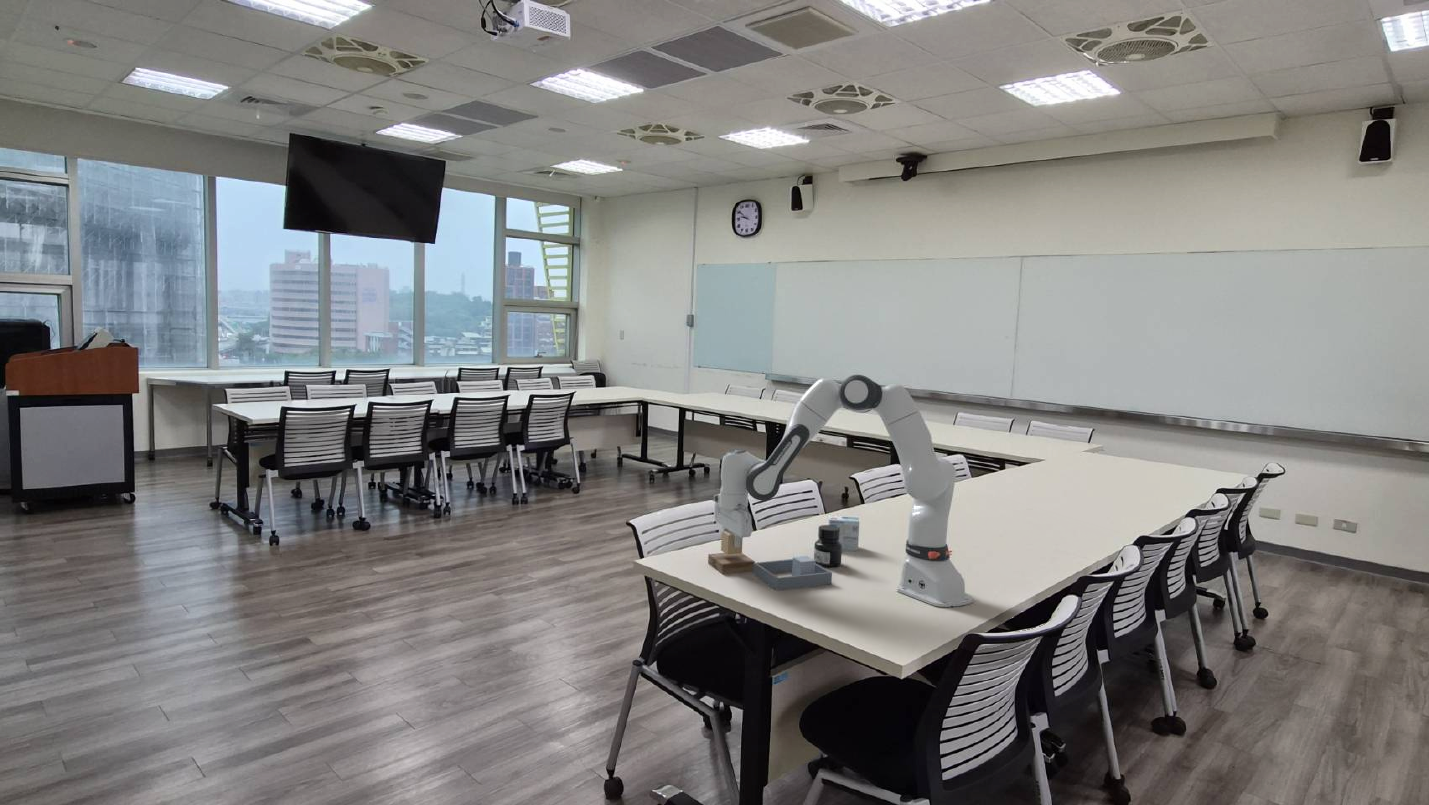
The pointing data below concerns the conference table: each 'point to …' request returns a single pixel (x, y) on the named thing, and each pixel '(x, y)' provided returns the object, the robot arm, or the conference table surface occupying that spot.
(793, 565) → the plain box
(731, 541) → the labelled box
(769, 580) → the parts tray
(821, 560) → the ink bottle
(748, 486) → the robot arm
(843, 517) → the light bulb box
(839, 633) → the conference table surface
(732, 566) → the walnut stand
